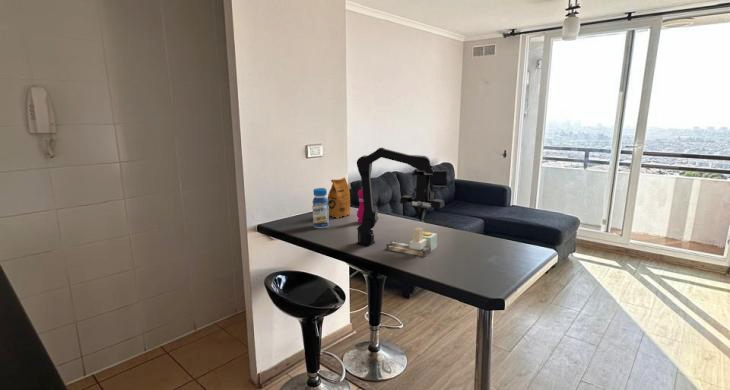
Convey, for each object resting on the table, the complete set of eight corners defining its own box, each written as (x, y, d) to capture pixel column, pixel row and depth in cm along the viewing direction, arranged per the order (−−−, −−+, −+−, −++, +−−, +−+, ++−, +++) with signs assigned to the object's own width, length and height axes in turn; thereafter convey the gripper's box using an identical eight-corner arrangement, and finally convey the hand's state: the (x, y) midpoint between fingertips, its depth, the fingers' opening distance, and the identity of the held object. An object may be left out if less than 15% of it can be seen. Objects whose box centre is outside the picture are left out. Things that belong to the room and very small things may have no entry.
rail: (386, 249, 168) (386, 243, 167) (393, 245, 173) (393, 240, 172) (425, 256, 158) (425, 250, 158) (430, 252, 163) (430, 246, 163)
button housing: (415, 249, 168) (415, 235, 166) (422, 244, 174) (422, 231, 173) (430, 251, 164) (430, 238, 163) (436, 246, 170) (437, 233, 169)
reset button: (421, 245, 168) (421, 233, 167) (424, 243, 171) (424, 231, 170) (428, 246, 166) (428, 235, 165) (431, 244, 169) (431, 233, 168)
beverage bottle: (332, 225, 205) (331, 188, 201) (322, 229, 198) (321, 191, 194) (320, 223, 209) (318, 187, 206) (309, 227, 202) (308, 189, 199)
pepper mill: (368, 224, 207) (368, 187, 203) (355, 223, 208) (355, 187, 204) (371, 221, 214) (371, 185, 210) (358, 220, 215) (358, 184, 211)
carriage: (409, 247, 161) (409, 229, 160) (415, 243, 166) (415, 226, 165) (420, 249, 159) (421, 231, 157) (426, 245, 164) (426, 228, 162)
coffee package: (325, 216, 224) (324, 179, 220) (340, 212, 233) (340, 176, 229) (337, 219, 218) (336, 180, 213) (352, 215, 227) (352, 178, 222)
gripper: (450, 185, 167) (448, 220, 170) (410, 181, 177) (409, 214, 180) (440, 189, 158) (438, 225, 161) (399, 184, 168) (398, 219, 171)
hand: (421, 220), depth 169 cm, fingers closed
